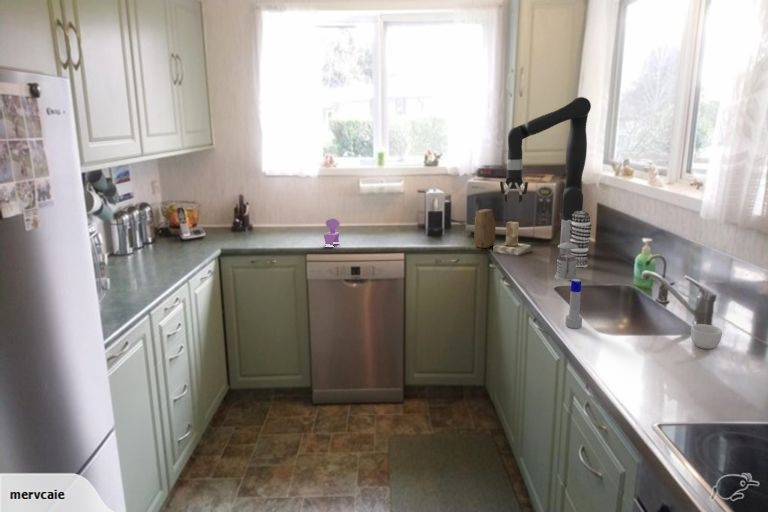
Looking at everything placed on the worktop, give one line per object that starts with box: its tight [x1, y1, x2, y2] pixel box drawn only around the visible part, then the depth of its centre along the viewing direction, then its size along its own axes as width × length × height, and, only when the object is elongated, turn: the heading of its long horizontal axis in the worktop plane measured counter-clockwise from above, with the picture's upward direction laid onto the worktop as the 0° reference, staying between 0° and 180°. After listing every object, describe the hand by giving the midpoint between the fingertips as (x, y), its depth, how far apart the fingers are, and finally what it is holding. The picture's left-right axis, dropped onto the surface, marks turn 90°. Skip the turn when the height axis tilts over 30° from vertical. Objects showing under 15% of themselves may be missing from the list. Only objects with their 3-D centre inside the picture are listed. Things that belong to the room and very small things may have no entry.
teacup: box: [690, 323, 723, 350], centre depth 158 cm, size 10×8×5 cm
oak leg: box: [505, 221, 520, 247], centre depth 276 cm, size 5×5×15 cm
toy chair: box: [323, 218, 341, 246], centre depth 298 cm, size 8×9×15 cm
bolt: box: [565, 278, 583, 329], centre depth 174 cm, size 16×5×5 cm
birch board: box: [492, 241, 532, 257], centre depth 277 cm, size 14×13×3 cm
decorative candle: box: [569, 210, 592, 268], centre depth 245 cm, size 9×9×25 cm
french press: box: [554, 220, 578, 281], centre depth 226 cm, size 10×12×25 cm
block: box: [473, 208, 496, 249], centre depth 287 cm, size 11×8×20 cm
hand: (513, 202), depth 272 cm, fingers open, 6 cm apart
